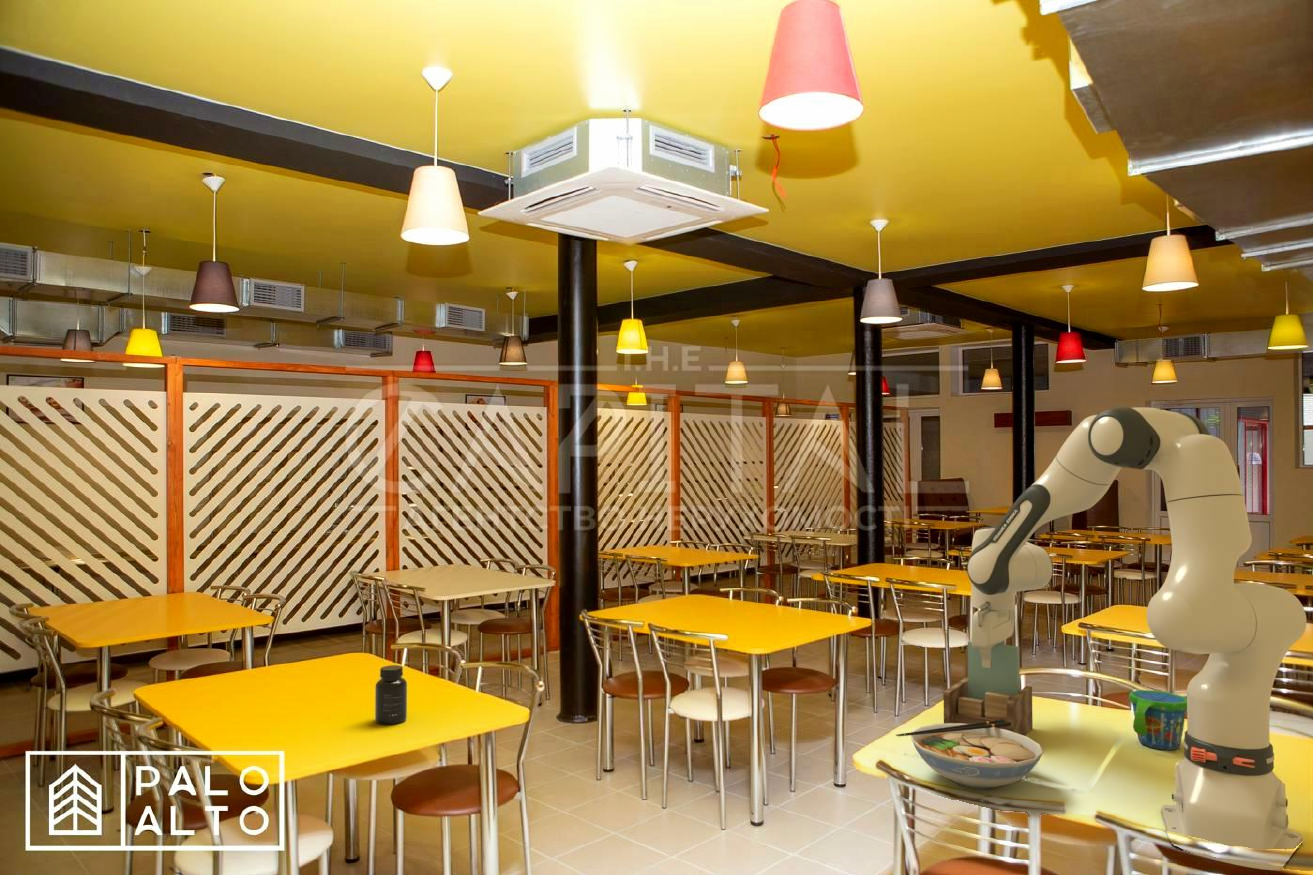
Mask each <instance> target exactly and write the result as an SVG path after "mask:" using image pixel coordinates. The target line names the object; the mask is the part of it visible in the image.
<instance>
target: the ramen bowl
mask: <svg viewBox="0 0 1313 875" xmlns="http://www.w3.org/2000/svg"><path fill="white" fill-rule="evenodd" d="M1004 726H1011V722H1005V720H1004V719H1000V720H993V721H987V722H979V723H973V724H963V723H946V724H944V723H934V724H930V725H925V726H920V727H918V728H917V729H915V730H913V731H911V732H904V733H897V734H895V736H896V737H908V736H911V739H910V740H911V742H912V743H913V746H914V748H915V750H916V751H917V752H918V754H919V756H920V758H921V759H922V760H923V761H924V763H925V764H926V765H928V767H929V768H931V769H932V770H933V771H934V772H936V773H937V774H938V775H940V776H941V777H944V778H946V779H949V780H952V781H954V782H955V783H957V784H959V785H961V786H963V787H965V786H967V787H966V788H969V787H971V788H970V789H975V788H979V789H978V790H989V789H994V788H997V787H1002V786H1006V785H1011V784H1015V783H1016V782H1018V781H1020V780H1022V779H1023V778H1024V777H1025V776H1027V775H1028V774H1029V773H1030V772H1031V771H1032V770H1033V769H1034V767H1035V766H1036V765H1037V764H1038V762H1040V759H1041V758H1042V756H1043V754H1044V751H1043V749H1042V748H1043V747H1041V745H1040V743H1038V742H1036V741H1035V740H1033V739H1032V738H1030V737H1028V736H1027V735H1026V736H1024V735H1021V734H1018V733H1015V732H1012V731H1009V730H1005V729H1000V728H995V727H1004Z"/></svg>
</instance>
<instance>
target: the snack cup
mask: <svg viewBox="0 0 1313 875" xmlns="http://www.w3.org/2000/svg"><path fill="white" fill-rule="evenodd" d="M1128 697H1129V698H1128V699H1129V701H1130V703H1131V705H1132V707H1133V708H1132V710H1133V715H1134V719H1133V724H1132V728H1133V731H1134V733H1136V735H1137V738H1138V741H1139V743H1141V744H1143V746H1146V747H1149V748H1153V749H1158V750H1166V751H1168V750H1169V751H1172V750H1176V749H1178V748H1180V747H1181V744H1182V737H1183V734H1184V733H1183V732H1184V726H1185V718H1186V713H1187V697H1185V696H1181V695H1179V694H1175V693H1172V692H1165V691H1158V690H1147V689H1145V690H1142V689H1140V690H1138V689H1137V690H1133V691H1132V690H1131V692H1129V694H1128Z"/></svg>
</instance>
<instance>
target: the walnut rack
mask: <svg viewBox="0 0 1313 875" xmlns="http://www.w3.org/2000/svg"><path fill="white" fill-rule="evenodd" d="M960 697H966V698H968V676H966V677H964V678H962V679H961V680H960V681H958V682H956V683H955V684H953V685H952V686H951V687H949V688H947V689H946V690H944V691H943V724H946V723H963V724H973V723H979V722H987V721H993V720H994V719H989V718H985V708H984V718H983V717H977V716H972V715H966V714H960V713H958V698H960ZM1007 722H1011V726H1004V727H995V728H1000V729H1005V730H1009V731H1012V732H1015V733H1018V734H1021V735H1024V736H1027V735H1028V734H1029V733H1030V732H1031V731H1032V730H1033V729H1034V728H1033V686H1029V685H1026V686H1025V687H1023V688H1022V689H1020V692H1018V693H1017V694H1016V695H1015V696H1014V697H1012V698H1011V699H1010V700H1009V701H1007Z"/></svg>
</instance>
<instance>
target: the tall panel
mask: <svg viewBox="0 0 1313 875" xmlns="http://www.w3.org/2000/svg"><path fill="white" fill-rule="evenodd" d="M991 659H992V666H991V667H990V668H985V667H983V666H982V658H981V655H980V649H978V648H974V647H973V645H972V640H968V641H967V675H968V676H967V677H968V698H972V699H978V700H984V708H985V693H986V692H993V693H1000V694H1006V695H1011V698H1012V697H1014V696H1015V695H1016V694H1017V693H1018V692H1020V691H1021V689H1020V687H1021V685H1020V646H1018V645H1017V646H1016V645H1010V644H1009V645H1008V644H1006V645H1002V644H997V645H995V646H994V647H992V648H991Z"/></svg>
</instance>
